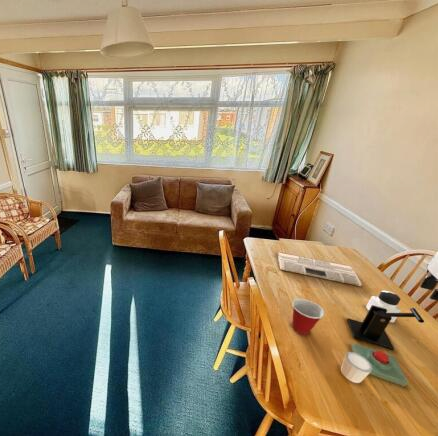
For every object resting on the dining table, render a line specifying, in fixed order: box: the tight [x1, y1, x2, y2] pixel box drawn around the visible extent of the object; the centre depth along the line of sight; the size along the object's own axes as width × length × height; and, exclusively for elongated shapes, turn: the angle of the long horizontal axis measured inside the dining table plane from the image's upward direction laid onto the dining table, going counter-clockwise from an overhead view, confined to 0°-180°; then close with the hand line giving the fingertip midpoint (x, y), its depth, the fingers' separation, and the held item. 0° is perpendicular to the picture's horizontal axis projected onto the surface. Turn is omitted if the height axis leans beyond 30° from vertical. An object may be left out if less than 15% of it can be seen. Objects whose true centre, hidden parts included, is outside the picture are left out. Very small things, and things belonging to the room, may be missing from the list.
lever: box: [373, 307, 425, 324], centre depth 86 cm, size 12×6×2 cm, turn 63°
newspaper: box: [277, 252, 362, 287], centre depth 132 cm, size 37×19×3 cm, turn 68°
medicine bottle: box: [365, 290, 402, 323], centre depth 100 cm, size 7×7×12 cm
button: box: [373, 350, 389, 364], centre depth 80 cm, size 4×4×2 cm
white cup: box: [340, 351, 372, 384], centre depth 77 cm, size 7×7×7 cm
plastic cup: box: [291, 298, 325, 335], centre depth 93 cm, size 11×11×12 cm
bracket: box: [346, 305, 395, 351], centre depth 91 cm, size 12×10×13 cm
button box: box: [350, 342, 409, 387], centre depth 81 cm, size 12×10×4 cm
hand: (431, 293), depth 79 cm, fingers open, 5 cm apart
